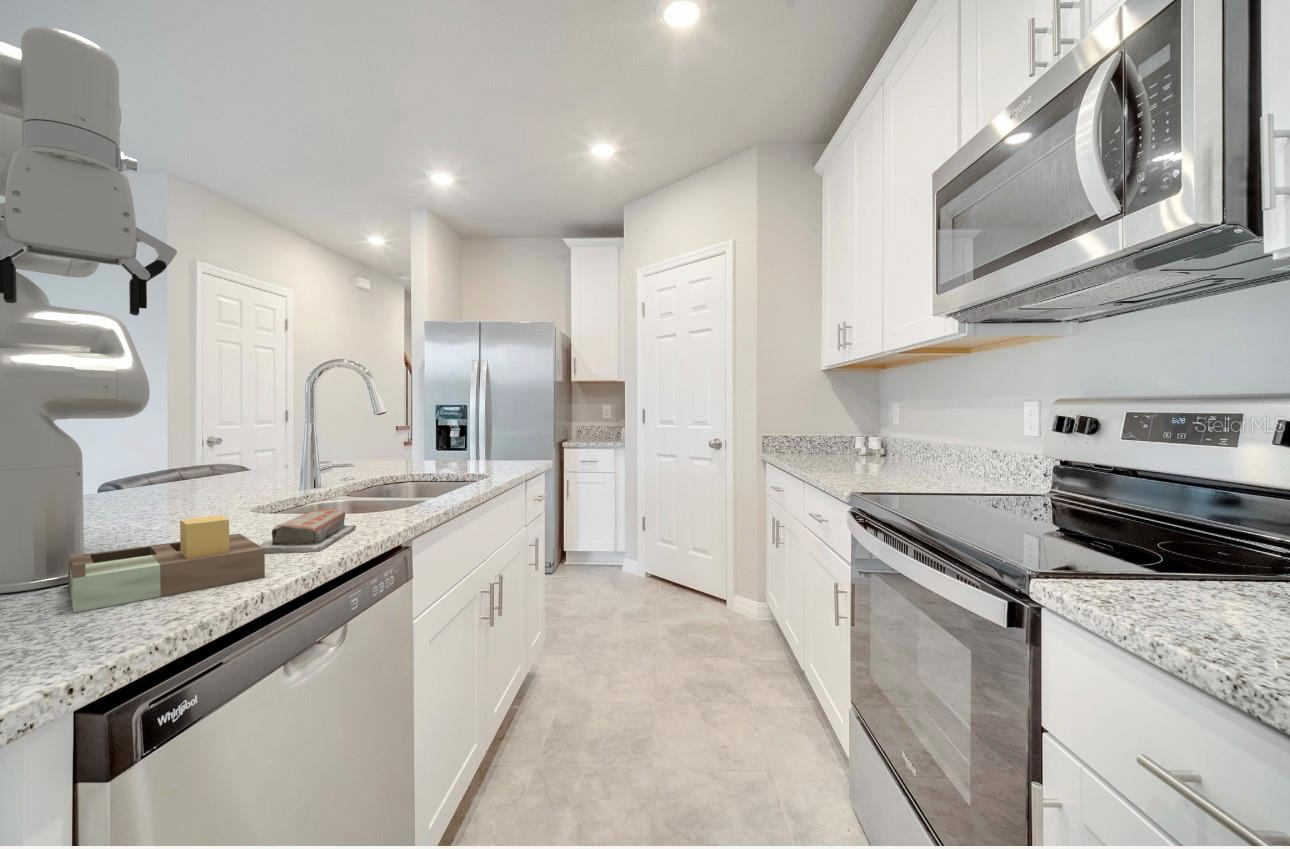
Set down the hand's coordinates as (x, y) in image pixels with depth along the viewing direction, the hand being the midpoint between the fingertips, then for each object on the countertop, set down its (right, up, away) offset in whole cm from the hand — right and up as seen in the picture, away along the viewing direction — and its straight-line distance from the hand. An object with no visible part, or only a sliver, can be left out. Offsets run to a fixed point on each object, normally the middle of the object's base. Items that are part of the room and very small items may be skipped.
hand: (75, 308), depth 61 cm
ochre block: (+4, -31, +13) cm, 34 cm away
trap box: (-1, -35, +13) cm, 37 cm away
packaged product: (+3, -35, +37) cm, 51 cm away
